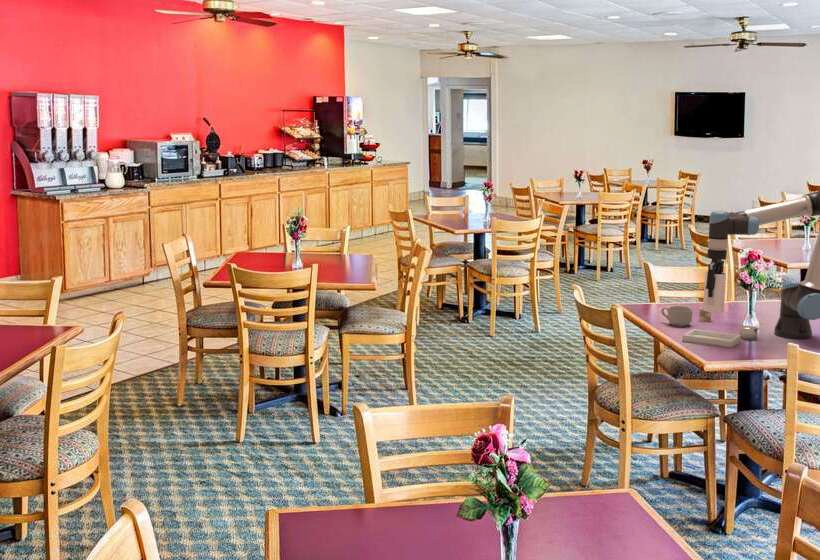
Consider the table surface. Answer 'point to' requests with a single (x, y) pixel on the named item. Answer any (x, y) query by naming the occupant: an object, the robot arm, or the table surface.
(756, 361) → the table surface
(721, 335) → the tray
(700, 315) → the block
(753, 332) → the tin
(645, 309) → the table surface
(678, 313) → the teacup
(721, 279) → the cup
